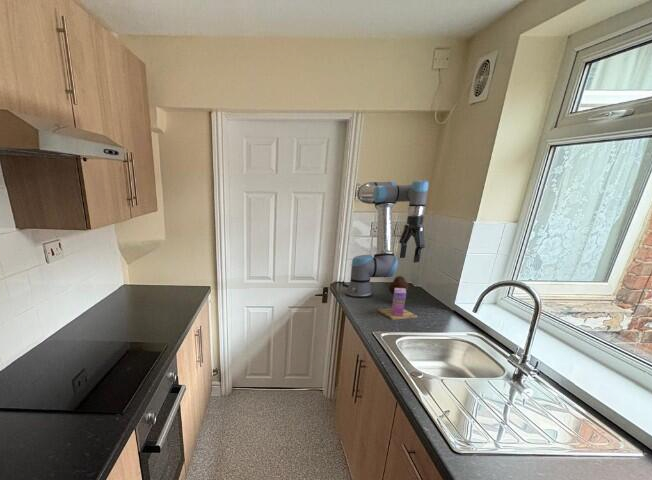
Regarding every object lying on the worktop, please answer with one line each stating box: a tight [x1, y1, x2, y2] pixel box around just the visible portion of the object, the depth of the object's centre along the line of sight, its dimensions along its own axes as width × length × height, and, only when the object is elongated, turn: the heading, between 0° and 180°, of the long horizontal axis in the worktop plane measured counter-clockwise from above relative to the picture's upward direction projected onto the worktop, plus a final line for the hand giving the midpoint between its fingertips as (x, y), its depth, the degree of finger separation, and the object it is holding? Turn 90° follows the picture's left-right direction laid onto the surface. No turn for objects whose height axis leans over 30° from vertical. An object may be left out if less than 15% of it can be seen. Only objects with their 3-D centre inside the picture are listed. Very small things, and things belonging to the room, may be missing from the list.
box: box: [391, 288, 407, 316], centre depth 215 cm, size 10×6×12 cm, turn 163°
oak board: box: [377, 307, 419, 321], centre depth 218 cm, size 16×14×1 cm
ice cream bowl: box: [388, 275, 410, 304], centre depth 235 cm, size 11×11×15 cm
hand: (409, 260), depth 213 cm, fingers open, 13 cm apart
